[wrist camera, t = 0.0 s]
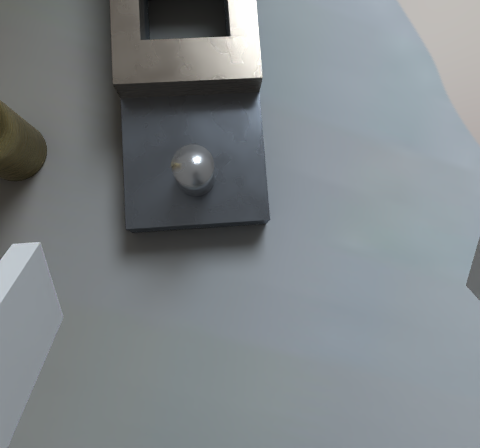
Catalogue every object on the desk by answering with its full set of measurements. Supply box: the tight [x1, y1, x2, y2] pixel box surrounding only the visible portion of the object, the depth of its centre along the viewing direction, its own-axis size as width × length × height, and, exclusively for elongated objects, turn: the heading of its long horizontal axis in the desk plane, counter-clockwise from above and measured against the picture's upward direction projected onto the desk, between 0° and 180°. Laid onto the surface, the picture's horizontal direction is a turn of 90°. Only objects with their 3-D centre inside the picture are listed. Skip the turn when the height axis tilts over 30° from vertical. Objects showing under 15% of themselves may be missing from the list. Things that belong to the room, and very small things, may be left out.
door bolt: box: [110, 0, 270, 233], centre depth 26 cm, size 26×9×7 cm, turn 4°
